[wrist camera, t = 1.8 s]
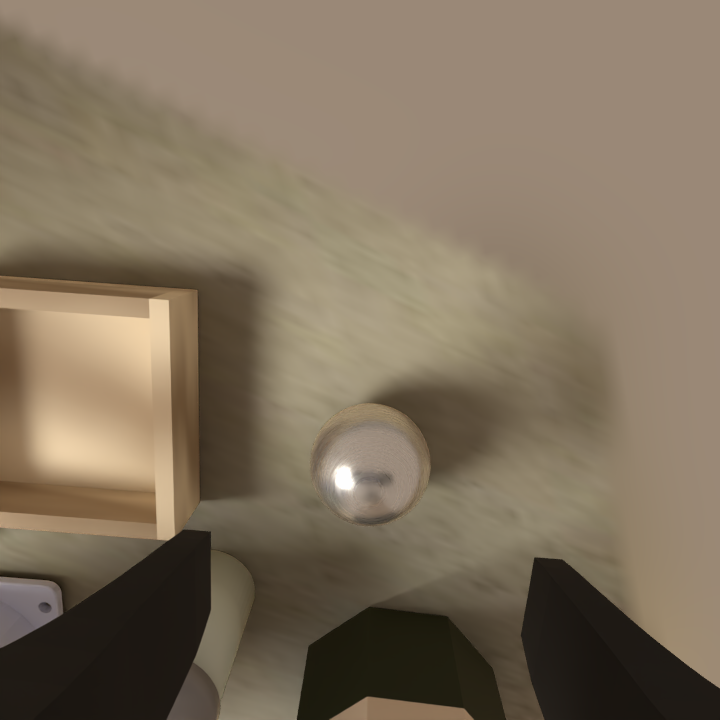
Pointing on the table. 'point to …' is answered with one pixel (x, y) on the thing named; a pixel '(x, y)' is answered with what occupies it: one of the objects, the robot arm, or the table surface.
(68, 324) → the tray
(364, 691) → the wine bottle
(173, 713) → the shaker
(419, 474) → the ball
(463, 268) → the table surface
